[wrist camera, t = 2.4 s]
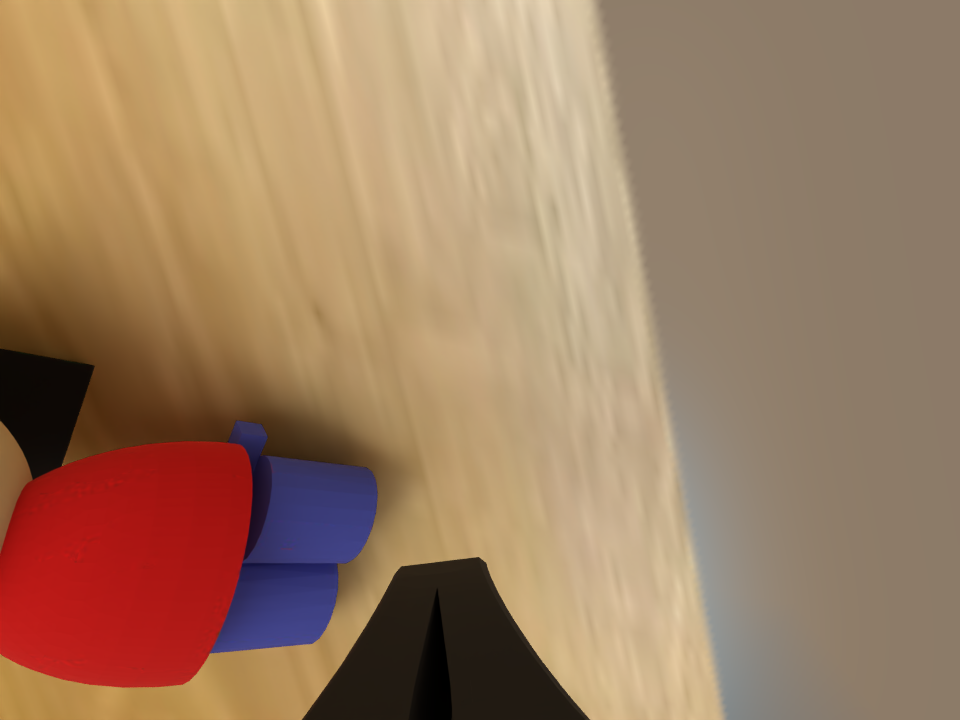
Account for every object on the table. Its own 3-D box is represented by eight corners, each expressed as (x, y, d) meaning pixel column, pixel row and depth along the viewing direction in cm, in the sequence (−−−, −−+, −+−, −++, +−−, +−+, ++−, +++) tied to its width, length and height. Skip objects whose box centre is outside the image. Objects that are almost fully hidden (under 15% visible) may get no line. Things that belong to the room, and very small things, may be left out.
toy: (330, 360, 21) (-374, 192, 11) (433, 488, 15) (-857, 358, 6) (247, 559, 23) (-430, 556, 13) (310, 746, 17) (-848, 988, 7)
